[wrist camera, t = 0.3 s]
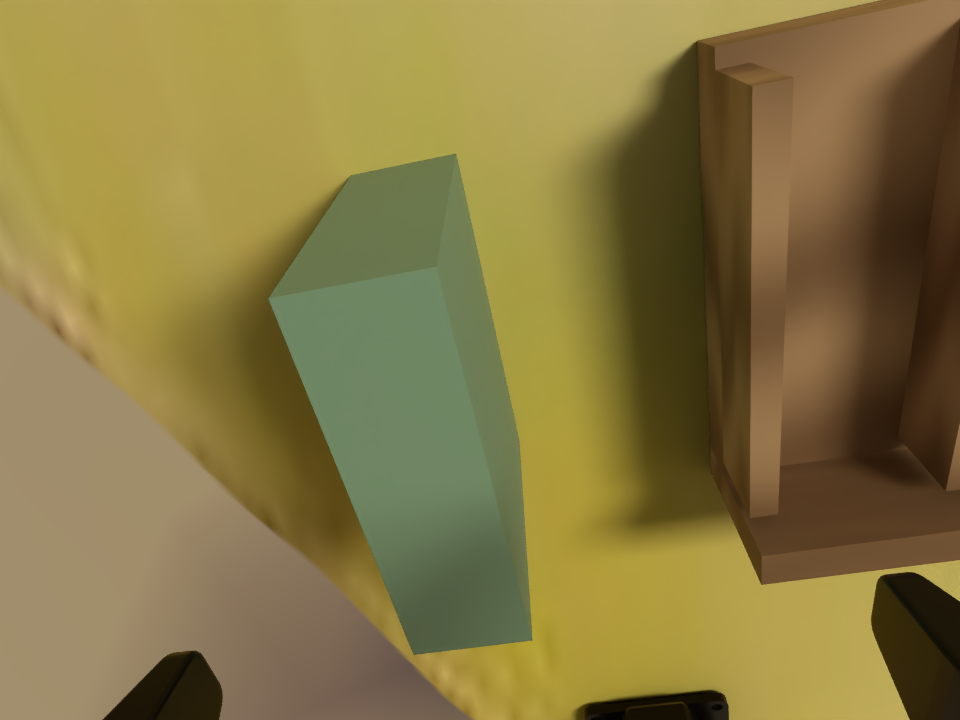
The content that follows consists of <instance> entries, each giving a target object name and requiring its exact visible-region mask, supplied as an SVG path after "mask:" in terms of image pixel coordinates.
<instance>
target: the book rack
mask: <svg viewBox="0 0 960 720" xmlns="http://www.w3.org/2000/svg"><path fill="white" fill-rule="evenodd" d="M697 57H698V87H699V117H700V147H701V177H702V207H703V237H704V267H705V297H706V327H707V357H708V387H709V417H710V447H711V472H712V475H713V477H714V479H715V481H716V484H717V486H718V488H719V490H720V493H721V495H722V497H723V499H724V502H725V504H726V506H727V508H728V511H729V513H730V515H731V517H732V520H733V522H734V524H735V526H736V529H737V531H738V533H739V535H740V538H741V540H742V542H743V544H744V547H745V549H746V551H747V553H748V556H749V558H750V560H751V562H752V565H753V567H754V569H755V571H756V574H757V576H758V578H759V580H760V583H761V585H763V584H771V583H779V582H787V581H795V580H803V579H811V578H819V577H827V576H835V575H843V574H851V573H859V572H867V571H875V570H883V569H891V568H899V567H907V566H915V565H923V564H931V563H939V562H947V561H955V560H960V0H881V1H877V2H872V3H867V4H863V5H858V6H854V7H849V8H845V9H840V10H835V11H831V12H826V13H822V14H817V15H813V16H808V17H804V18H799V19H794V20H790V21H785V22H781V23H776V24H772V25H767V26H762V27H758V28H753V29H749V30H744V31H740V32H735V33H731V34H726V35H721V36H717V37H712V38H708V39H703V40H699V41H697Z"/></svg>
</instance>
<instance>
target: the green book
mask: <svg viewBox="0 0 960 720" xmlns="http://www.w3.org/2000/svg"><path fill="white" fill-rule="evenodd" d="M268 299H269V302H270V304H271V307H272V309H273V312H274V314H275V317H276V319H277V321H278V324H279V326H280V329H281V331H282V334H283V336H284V339H285V341H286V344H287V346H288V348H289V351H290V353H291V356H292V358H293V361H294V363H295V366H296V368H297V370H298V373H299V375H300V378H301V380H302V383H303V385H304V388H305V390H306V392H307V395H308V397H309V400H310V402H311V405H312V407H313V410H314V412H315V414H316V417H317V419H318V422H319V424H320V427H321V429H322V432H323V434H324V436H325V439H326V441H327V444H328V446H329V449H330V451H331V454H332V456H333V458H334V461H335V463H336V466H337V468H338V471H339V473H340V476H341V478H342V481H343V483H344V485H345V488H346V490H347V493H348V495H349V498H350V500H351V503H352V505H353V507H354V510H355V512H356V515H357V517H358V520H359V522H360V525H361V527H362V529H363V532H364V534H365V537H366V539H367V542H368V544H369V547H370V549H371V551H372V554H373V556H374V559H375V561H376V564H377V566H378V569H379V571H380V573H381V576H382V578H383V581H384V583H385V586H386V588H387V591H388V593H389V596H390V598H391V600H392V603H393V605H394V608H395V610H396V613H397V615H398V618H399V620H400V622H401V625H402V627H403V630H404V632H405V635H406V637H407V640H408V642H409V644H410V647H411V649H412V652H413V654H414V655H416V654H424V653H432V652H441V651H449V650H457V649H465V648H474V647H482V646H490V645H498V644H507V643H515V642H523V641H531V640H532V626H531V611H530V596H529V581H528V566H527V551H526V536H525V520H524V505H523V490H522V475H521V460H520V445H519V437H518V432H517V428H516V423H515V419H514V414H513V410H512V405H511V401H510V396H509V392H508V387H507V382H506V378H505V373H504V369H503V364H502V360H501V355H500V351H499V346H498V342H497V337H496V332H495V328H494V323H493V319H492V314H491V310H490V305H489V301H488V296H487V292H486V287H485V282H484V278H483V273H482V269H481V264H480V260H479V255H478V251H477V246H476V242H475V237H474V233H473V228H472V223H471V219H470V214H469V210H468V205H467V201H466V196H465V192H464V187H463V183H462V178H461V173H460V169H459V164H458V160H457V155H456V154H452V155H447V156H442V157H437V158H433V159H428V160H423V161H418V162H413V163H409V164H404V165H399V166H394V167H389V168H385V169H380V170H375V171H370V172H365V173H361V174H356V175H351V176H350V178H349V179H348V181H347V182H346V184H345V185H344V186H343V188H342V189H341V191H340V192H339V194H338V195H337V197H336V198H335V200H334V201H333V203H332V204H331V206H330V207H329V209H328V210H327V212H326V213H325V215H324V216H323V218H322V219H321V221H320V222H319V224H318V225H317V227H316V228H315V230H314V231H313V233H312V234H311V236H310V237H309V239H308V240H307V242H306V243H305V245H304V246H303V248H302V249H301V250H300V252H299V253H298V255H297V256H296V258H295V259H294V261H293V262H292V264H291V265H290V267H289V268H288V270H287V271H286V273H285V274H284V276H283V277H282V279H281V280H280V282H279V283H278V285H277V286H276V288H275V289H274V291H273V292H272V294H271V295H270V297H269V298H268Z"/></svg>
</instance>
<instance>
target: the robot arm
mask: <svg viewBox="0 0 960 720" xmlns="http://www.w3.org/2000/svg"><path fill="white" fill-rule="evenodd" d="M871 624H872V630H873V633H874V636H875V639H876V641H877V644H878V646H879V648H880V651H881V653H882V656H883V658H884V660H885V663H886V665H887V667H888V670H889V672H890V674H891V677H892V679H893V681H894V684H895V686H896V688H897V691H898V693H899V696H900V698H901V700H902V703H903V705H904V707H905V710H906V712H907V714H908V717H909V719H910V720H960V601H958V600H957V599H955V598H954V597H952V596H951V595H949V594H948V593H946V592H945V591H943V590H942V589H941V588H939V587H938V586H936V585H935V584H933V583H932V582H930V581H929V580H927V579H926V578H924V577H923V576H921V575H919V574H916V573H913V572H905V573H896V574H887V575H883V576H881V577H880V578H879V579H878V581H877V585H876V591H875V597H874V603H873V609H872V615H871ZM221 707H222V689H221V685H220V683H219V681H218V680H217V678H216V676H215V675H214V673H213V671H212V670H211V668H210V667H209V665H208V663H207V662H206V660H205V658H204V657H203V656H202V654H201V653H199V652H197V651H185V652H176V653H172V654H169V655H167V656H166V657H164V658H163V659H162V660H161V661H160V662H159V663H158V664H157V665H156V666H155V667H154V668H153V669H152V670H151V671H150V672H149V673H148V674H147V675H146V676H145V677H144V678H143V679H142V680H141V681H140V682H139V683H138V684H137V685H136V686H135V687H134V688H133V689H132V690H131V691H130V692H129V693H128V694H127V695H126V697H124V698H123V700H121V702H120V703H119V704H118V705H117V706H116V707H115V708H114V709H113V710H112V711H111V712H110V713H109V714H108V715H107V716H106V717H105V718H104V719H103V720H219V717H220V712H221ZM584 715H585V720H729V711H728V704H727V700H726V697H725V695H723V694H722V693H706V694H697V695H688V696H678V697H669V698H660V699H651V700H641V701H632V702H623V703H614V704H604V705H595V706H590V707H588V708H586V709H585V711H584Z"/></svg>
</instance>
